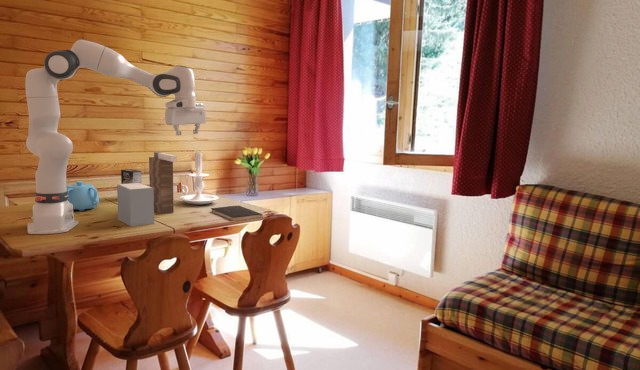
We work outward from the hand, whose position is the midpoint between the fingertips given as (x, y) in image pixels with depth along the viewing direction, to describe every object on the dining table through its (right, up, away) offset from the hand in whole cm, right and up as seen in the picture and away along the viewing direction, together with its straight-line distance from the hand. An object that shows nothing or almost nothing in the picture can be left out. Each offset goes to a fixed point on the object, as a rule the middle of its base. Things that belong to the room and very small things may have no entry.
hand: (187, 134), depth 212 cm
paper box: (-22, -39, -3) cm, 45 cm away
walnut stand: (-18, -36, +20) cm, 45 cm away
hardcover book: (+19, -38, +18) cm, 46 cm away
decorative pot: (-58, -35, +19) cm, 70 cm away
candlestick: (-7, -33, +43) cm, 55 cm away
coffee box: (-44, -31, +47) cm, 71 cm away
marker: (-14, -11, +12) cm, 21 cm away
